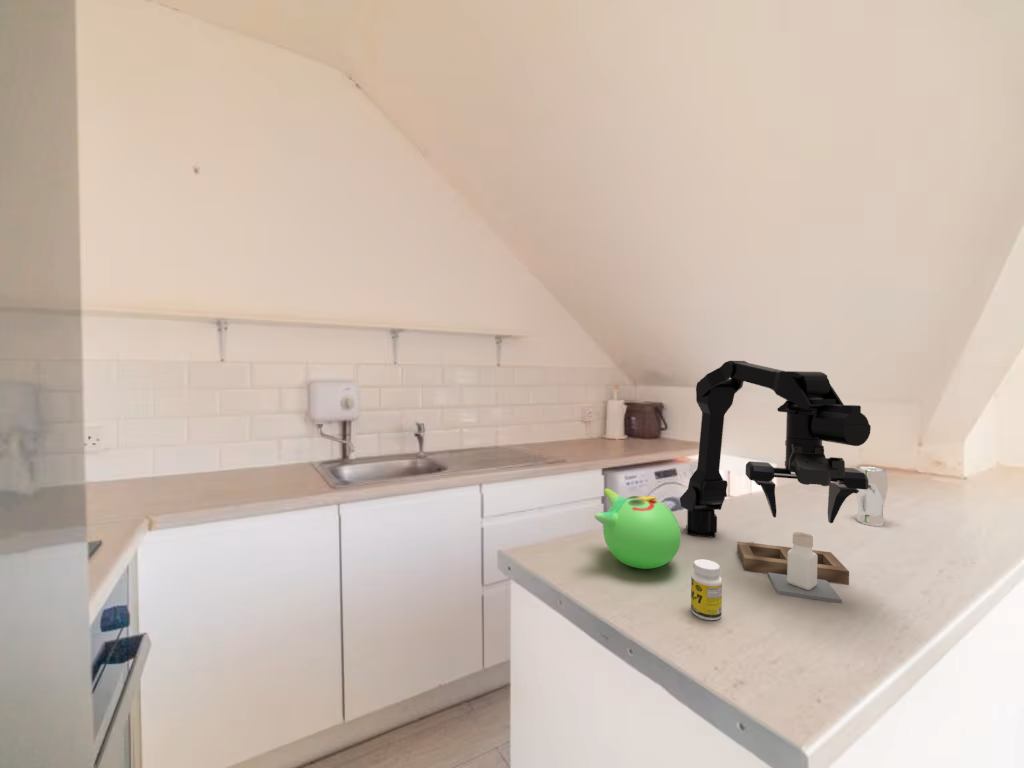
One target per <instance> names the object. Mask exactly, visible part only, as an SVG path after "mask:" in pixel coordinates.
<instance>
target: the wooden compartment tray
mask: <svg viewBox="0 0 1024 768" xmlns="http://www.w3.org/2000/svg"><path fill="white" fill-rule="evenodd" d="M736 543H737V549H736V553H737V555H738V557H739V561H740V562H741V565H742V567H743V570H744V571H747V572H748V571H749V572H756V573H761V574H762V573H763V574H768V572H769V573H777V574H784V575H787V562H788V551H789V550H790V549H792V548H793V547H791V546H790V547H789V546H788V547H787V546H780V545H773V544H763V543H756V542H755V543H754V542H746V541H739V540H738V541H737V542H736ZM812 552H814V553H815V554H817V556H818V559H817V579H821V580H827V582H828V583H837V584H843V585H849V584H850V571H849V570H848V568H847V567H846V566H845V565H844V564H843V563H842V562H841V561H840V560H839V559H838V558H837V557H836V556H835V555H834V554H833V553H832V552H831V551H823V550H814V549H812Z"/></svg>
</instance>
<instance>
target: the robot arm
mask: <svg viewBox="0 0 1024 768" xmlns="http://www.w3.org/2000/svg"><path fill="white" fill-rule="evenodd" d="M744 382H746V383H749V384H752V385H756V386H760V387H763V388H767V389H770V390H772V391H773V392H774V394H775V395H776V396H778V397H780V398H782V399H784V400H785V402H783V404H781V405H780V406H779V407H777V409H776V410H777V412H778V413H786V424H785V425H786V428H785V429H786V431H785V433H786V434H785V442H784V443H785V444H784V445H785V461H784V467H774V466H773V465H772V464H771V463H770V462H767V461H766V462H765V461H751V460H750V461H748V462H747V463H746V464H745V475H746V477H747V478H748V479H749V480H750V481H754V483H755V484H756V485H758V486H761V489H762V491H763V493H764V496H765V498H766V501H767V504H768V506H769V510H770V513H771V515H772V517H773V518H777V504H776V503H777V502H776V483H774V482H773V479H775V478H783V479H793V480H797V481H798V483H800V484H802V485H807V486H809V485H819V486H822V487H828V499H827V500H828V501H827V521H828V523H829V524H833V523H834V522H835V519H836V517H837V515H838V513H839V512H840V510H841V507H842V506H843V504H844V503H845V501H846V499H847V498H848V497H850V496H851V495H852V494H856V493H858V492H859V490H857V489H865V490H866V489H868V478H867V476H866V475H865V474H864V473H863V472H861V471H859V470H857V469H856V467H855V468H853V467H846V466H845V465H846V464H845V463H846V462H845V460H844V459H843V457H835V456H834V457H832V456H831V457H828V458H827V457H826V455H825V448H824V445H823V442H828V443H832V444H833V443H835V444H841V445H845V446H853V447H859V446H860V447H861V446H862V445H864V444H865V443H866V442H867V441H868V439H869V438H870V435H871V428H872V427H871V424H870V422H869V420H868V418H867V416H866V415H865V414H864V413H862V407H861V405H855V404H847V405H846V404H844V403H843V402H842V400H841V398H840V397H839V395H838V393H837V392H836V391H835V389H834V387H833V386H832V385H831V383H830V380H829V378H828V375H827V374H826V373H824V372H822V371H799V370H797V371H796V370H795V371H790V370H787V371H786V370H783V369H778V368H773V367H769V366H763V365H759V364H756V363H750V362H747V361H746V360H728V361H725V362H723V364H722V365H721V366H719V367H718V368H716V369H715V370H712V371H711V372H709V373H706V374H705V376H703V377H702V378H701V379H700V380H699V381H697V383H696V386H695V394H696V395H695V396H696V397H695V399H696V400H695V401H696V403H697V405H698V407H699V409H700V411H701V422H700V434H699V435H700V437H699V447H698V457H697V467H696V469H695V471H694V472H693V474H692V475H691V476H690V477H689V481H688V486H687V489H686V491H685V492H684V493H683V494H682V495H681V496H680V497H679V503H680V507H682V508H684V509H685V510H687V511H686V514H687V515H686V525H685V526H686V527H685V528H686V533H687V535H690V536H691V535H692V536H699V537H709V538H716V534H717V532H718V530H717V529H718V516H717V514H716V512H715V511H716V510H718V511H720V510H721V509H722V507H723V503H724V501H725V498H727V497H728V495H727V489H728V481H727V480H725V479H723V476H722V474H721V473H720V468H721V467H720V465H721V464H720V463H721V455H722V444H723V443H722V442H723V432H724V425H725V424H724V423H725V415H726V413H727V412H728V411H729V409H730V408H731V407H732V405H733V403H734V398H735V394H736V393H738V391H739V390H741V389H742V388H743V385H744Z"/></svg>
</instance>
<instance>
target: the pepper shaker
mask: <svg viewBox="0 0 1024 768" xmlns="http://www.w3.org/2000/svg"><path fill="white" fill-rule="evenodd" d="M792 544H793V546H792V547H791V548H792V549H790V550H789V551H788V562H787V582H788V583H789V584H792V585H795V586H797V587H800V588H803V589H806V590H810V589H812V588H813V587H815V586H816V584H817V559H818V556H817V554H815V553H814V552H812V550H813V548H814V545H813V544H814V537H813V535H812V534H810V533H806V532H801V531H797V532H792Z"/></svg>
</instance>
